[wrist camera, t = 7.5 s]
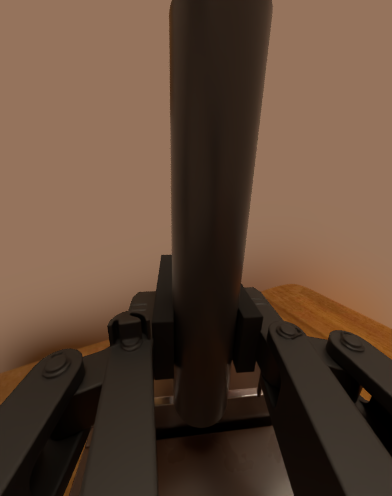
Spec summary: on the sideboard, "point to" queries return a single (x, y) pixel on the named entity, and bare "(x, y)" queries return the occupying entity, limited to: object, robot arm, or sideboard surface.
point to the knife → (211, 206)
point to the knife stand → (215, 457)
